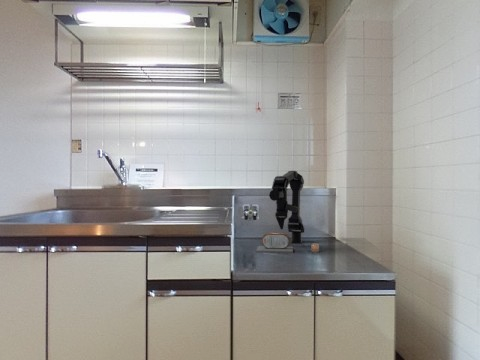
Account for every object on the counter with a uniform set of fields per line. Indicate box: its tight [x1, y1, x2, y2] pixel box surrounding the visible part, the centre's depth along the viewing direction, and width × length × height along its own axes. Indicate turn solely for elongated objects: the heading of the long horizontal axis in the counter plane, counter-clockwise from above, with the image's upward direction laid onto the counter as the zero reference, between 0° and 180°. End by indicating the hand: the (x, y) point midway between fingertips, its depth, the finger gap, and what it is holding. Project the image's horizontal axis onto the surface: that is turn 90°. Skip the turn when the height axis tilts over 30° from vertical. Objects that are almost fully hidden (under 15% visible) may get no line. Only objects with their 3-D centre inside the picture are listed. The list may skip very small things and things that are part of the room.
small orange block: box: [310, 242, 320, 253], centre depth 172 cm, size 4×4×4 cm
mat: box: [255, 245, 294, 254], centre depth 176 cm, size 12×19×1 cm, turn 82°
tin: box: [261, 232, 291, 249], centre depth 176 cm, size 15×3×8 cm, turn 81°
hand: (282, 228), depth 179 cm, fingers open, 9 cm apart
